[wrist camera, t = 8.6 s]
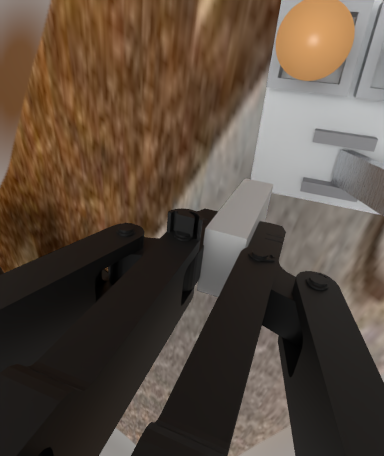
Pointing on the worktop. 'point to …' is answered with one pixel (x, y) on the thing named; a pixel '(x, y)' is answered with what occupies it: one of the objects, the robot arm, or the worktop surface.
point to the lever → (361, 178)
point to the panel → (324, 115)
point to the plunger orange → (314, 39)
